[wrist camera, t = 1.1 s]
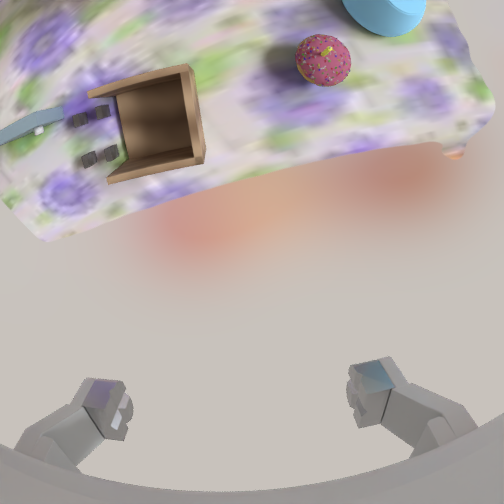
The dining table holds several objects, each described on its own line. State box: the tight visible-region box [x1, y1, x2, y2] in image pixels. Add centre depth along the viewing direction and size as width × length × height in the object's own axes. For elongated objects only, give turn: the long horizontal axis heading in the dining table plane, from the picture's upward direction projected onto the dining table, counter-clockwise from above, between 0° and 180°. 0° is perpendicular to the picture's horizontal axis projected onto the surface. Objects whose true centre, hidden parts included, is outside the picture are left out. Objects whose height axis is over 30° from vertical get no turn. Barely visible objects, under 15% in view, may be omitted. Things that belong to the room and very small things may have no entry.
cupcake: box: [295, 34, 351, 86], centre depth 34 cm, size 9×8×12 cm
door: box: [0, 107, 64, 146], centre depth 34 cm, size 10×3×9 cm, turn 97°
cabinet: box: [72, 63, 206, 185], centre depth 36 cm, size 13×20×11 cm, turn 97°
